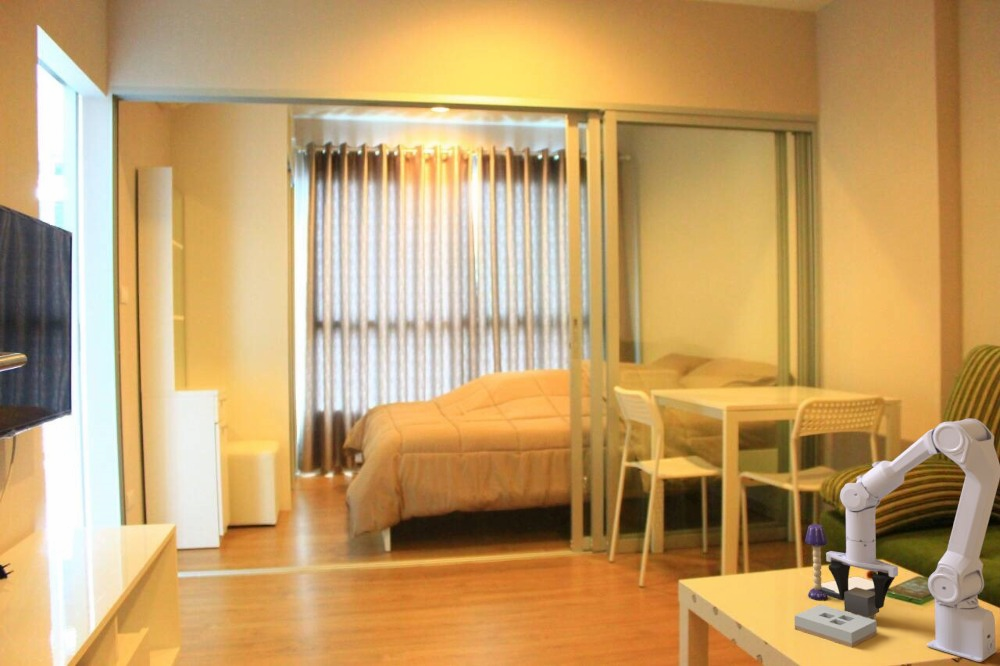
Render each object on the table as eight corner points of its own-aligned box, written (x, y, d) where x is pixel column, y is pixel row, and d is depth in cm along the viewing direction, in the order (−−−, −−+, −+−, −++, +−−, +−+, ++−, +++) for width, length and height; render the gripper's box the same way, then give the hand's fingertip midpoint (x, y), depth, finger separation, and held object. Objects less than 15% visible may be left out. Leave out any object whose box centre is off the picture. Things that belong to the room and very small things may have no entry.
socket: (876, 634, 152) (876, 620, 152) (851, 647, 146) (851, 632, 146) (820, 617, 162) (820, 604, 162) (794, 628, 156) (794, 615, 156)
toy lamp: (830, 601, 171) (829, 528, 171) (808, 600, 172) (807, 527, 172) (825, 594, 176) (824, 523, 176) (804, 593, 177) (803, 522, 177)
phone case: (856, 582, 187) (810, 591, 179) (856, 575, 187) (810, 584, 180) (888, 592, 179) (842, 602, 172) (888, 585, 179) (842, 595, 172)
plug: (879, 619, 160) (879, 593, 160) (867, 625, 157) (867, 598, 157) (856, 612, 164) (856, 587, 164) (844, 618, 161) (844, 592, 161)
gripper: (904, 542, 157) (905, 607, 157) (837, 528, 169) (838, 589, 169) (888, 548, 153) (889, 615, 153) (820, 534, 165) (821, 596, 165)
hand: (861, 602), depth 161 cm, fingers open, 7 cm apart
